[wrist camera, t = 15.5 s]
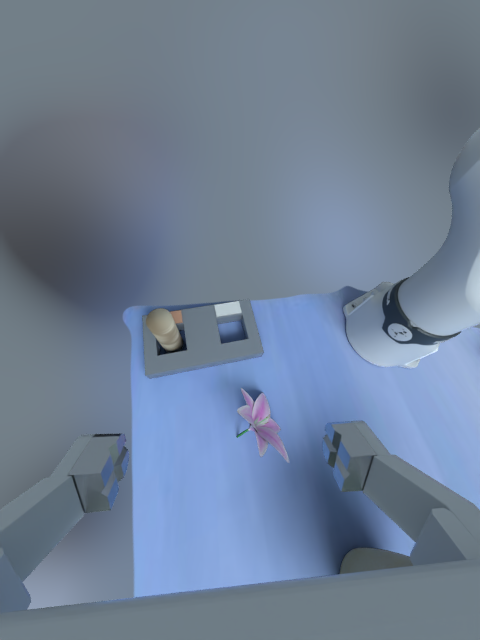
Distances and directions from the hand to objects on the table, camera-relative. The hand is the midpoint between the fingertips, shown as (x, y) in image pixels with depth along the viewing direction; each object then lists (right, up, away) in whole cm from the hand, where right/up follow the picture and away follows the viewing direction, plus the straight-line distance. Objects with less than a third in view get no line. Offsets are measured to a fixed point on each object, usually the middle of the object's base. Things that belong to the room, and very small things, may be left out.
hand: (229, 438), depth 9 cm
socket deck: (-7, +1, +38) cm, 38 cm away
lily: (+3, -14, +32) cm, 35 cm away
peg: (-13, 0, +37) cm, 39 cm away
